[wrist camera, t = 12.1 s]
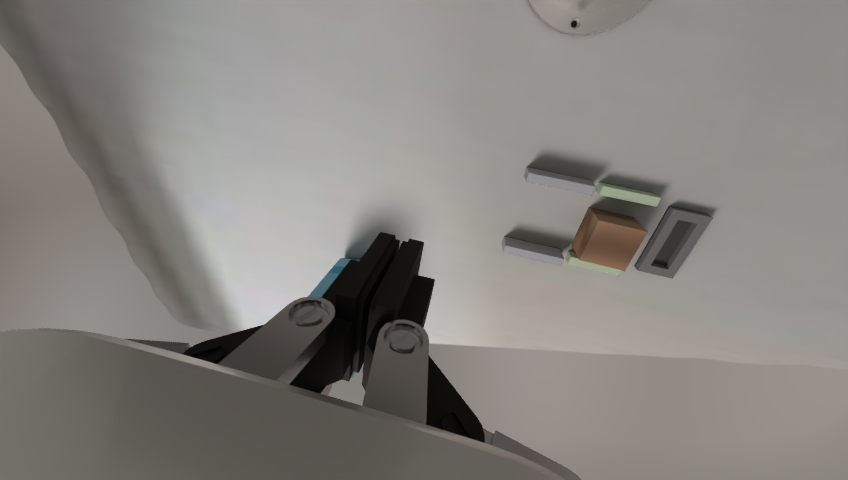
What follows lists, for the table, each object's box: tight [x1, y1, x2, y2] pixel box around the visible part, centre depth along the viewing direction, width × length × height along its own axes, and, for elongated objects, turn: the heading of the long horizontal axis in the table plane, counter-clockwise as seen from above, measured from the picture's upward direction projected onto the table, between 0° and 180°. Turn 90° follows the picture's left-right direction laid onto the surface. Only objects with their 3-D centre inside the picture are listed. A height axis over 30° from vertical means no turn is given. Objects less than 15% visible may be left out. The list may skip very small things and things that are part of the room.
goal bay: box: [565, 182, 661, 275], centre depth 36 cm, size 10×6×2 cm, turn 171°
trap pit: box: [635, 206, 713, 278], centre depth 36 cm, size 8×4×1 cm, turn 171°
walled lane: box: [502, 167, 596, 266], centre depth 37 cm, size 10×7×2 cm
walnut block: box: [572, 207, 647, 271], centre depth 36 cm, size 5×5×4 cm
